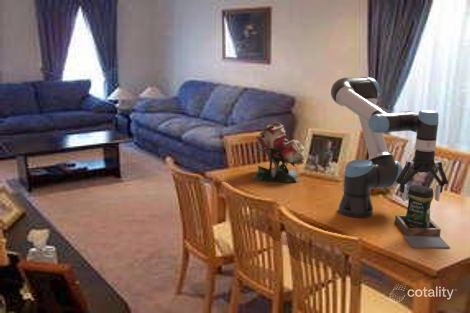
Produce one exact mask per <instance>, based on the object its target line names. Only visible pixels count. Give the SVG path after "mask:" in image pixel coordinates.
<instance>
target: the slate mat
mask: <svg viewBox="0 0 470 313" xmlns="http://www.w3.org/2000/svg"><path fill="white" fill-rule="evenodd" d="M403 238H404V239H405V240H406V241H407V243H408V244H409V245H410V247H411V248H412V249H450V248H451V246H450V245H449V244H448V243H446V241H445V240H444V239H443V238H442V237H441V235H440V236H406V235H404V237H403Z"/></svg>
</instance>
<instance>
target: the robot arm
mask: <svg viewBox="0 0 470 313" xmlns="http://www.w3.org/2000/svg"><path fill="white" fill-rule="evenodd" d="M380 92H381V90H380V86H379V83H378V81H377V80H376V79H375V78H373V77H367V76H362V77H342V78H339V79H338V80H336V81H335V82H334V83H333V84H332V86H331V90H330V95H331V99H332V100H333V101H334V102H335V103H336V104H337V105H339V106H340V107H345V108H346V109H348V110H349V111H351V112H353V113H354V114H355V115H356V116H358V118H359V119H358V120H359V122H360V123H359V124H360V127H361V129H362V134H363V137H364V142H365V145H366V147H367V148H366V149H367V153H368V156H369V158H368V159H364V158H363V159H360V158H359V159H354V160H351V161H349V162H347V163H346V164H345V168H344V169H345V170H344V181H343V182H344V184H343V195H342V198H341V200H340V202H339V204H338V212H339V214H341V215H344V216H346V217H351V218H360V219H361V218H368V217H371V216H373V214H374V206H373V202H372V199H371V198H372V197H371V190H373V189H379V188H391V187H394V186H398V185H400V186H399V187H400V188H399V192H400V193H401V200H402V201H403V202H406V201H407V192H408V190H407V189H408V186H407V185H406V184H407V183H409V181H411V179H412V178H413V177H414V176H415V175H417V174H418V173H420V174H421V173H430V175H432V177H433V178H434V180H435V181H436V182H437V183H436V184H435V192H434V194H435V195H434V200H435V201H436V202H440V197H441V196H440V195H441V194H442V193H443V188H444V186H445V185H448V184H449V181H448V179H447V175H446V173H445V171H444V169H443V163H442V161H440V160H437V161H435V157H436V149H437V148H436V147H437V145H436V144H437V138H438V137H437V136H438V130H439V129H438V128H439V116H440V115H439V112H438V111H436V110H432V109H431V110H429V109H422V110H420V111H419V112H418V113H417V112H413V111H407V110H403V111H400V112H393V113H388V112H386V111H385V110H382V109H381V108H380V107H378V106H377V103H378V99H379V98H380ZM394 132H413V133H416V138H415V145H414V146H415V147H414V148H415V150H414V157H413V158H414V160H413V161H409V160H406V161H405V164H404V167H403V165H402V164H401V162H400V161H399V160H397V159H396V160H395V157H394V155H393V154H392V153H390V152H389V150H388V147H387V143H386V140H385V136H384V133H394ZM411 167H412V169H411ZM434 167H437V168H436V169H437V170H438V171H437V172H438V174H439V176H440V177H439V176H438V175H437V173H436V172H435V170H434V169H433V168H434ZM410 169H411V170H410ZM409 170H410V171H409ZM440 178H441V179H440Z"/></svg>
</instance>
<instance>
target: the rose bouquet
mask: <svg viewBox="0 0 470 313" xmlns="http://www.w3.org/2000/svg"><path fill="white" fill-rule="evenodd" d="M262 129H263V130H262V131H261V132H259V135H261V136H259V135H256V136H255V138H256V139H257V141H258V142H256V144H257V145H259V146H261V147H262V148H259V149H257V150H256V152H258V153H259V152H265V154H266V155H267V156H268V158H269V168H266V167H264V166H260V165H257V168H258V169H257V172H256V173H255V174H254V175H253V176H252V178H253V181H254V182H259V183H260V182H261V183H262V182H265V183H280V182H281V183H282V182H283V183H293V182H297V183H298V182H299V181H300V179H299V178H297V177H299V174H298V171H297V170H296V169H288V166H289V165H291V166H293V167H296V168H297V165H299V166H300V165H302V164H304V161H305V157H306V156H307V153H308V152H307V148H305V146H304V145H303V143H302V142H300V141H299V140H298V139H297V140H296V139H292V140H290V141H289V140H288V139H287V138H286V137H287V134H286V129H285V125H283V124H281V122H273V123H270V124H268V125H267V126H266V128H265V127H264V126H262ZM253 158H254V156H253ZM280 162H281V164H280ZM288 164H289V165H288ZM273 165H274V167H273Z"/></svg>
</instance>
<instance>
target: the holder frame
mask: <svg viewBox="0 0 470 313" xmlns="http://www.w3.org/2000/svg"><path fill="white" fill-rule="evenodd" d="M405 218H406V214H395V216H394V222H395V224H396V226H398V228H399V229H400V231H402V232H403V234H404V236H440V237H441V228H440V227H439V226H438V225H437V224H436V223H435V222H434V221H433V220H432V219H431V218H430V227H429V228H409V227H408V226H407V225H406V224H405Z"/></svg>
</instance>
